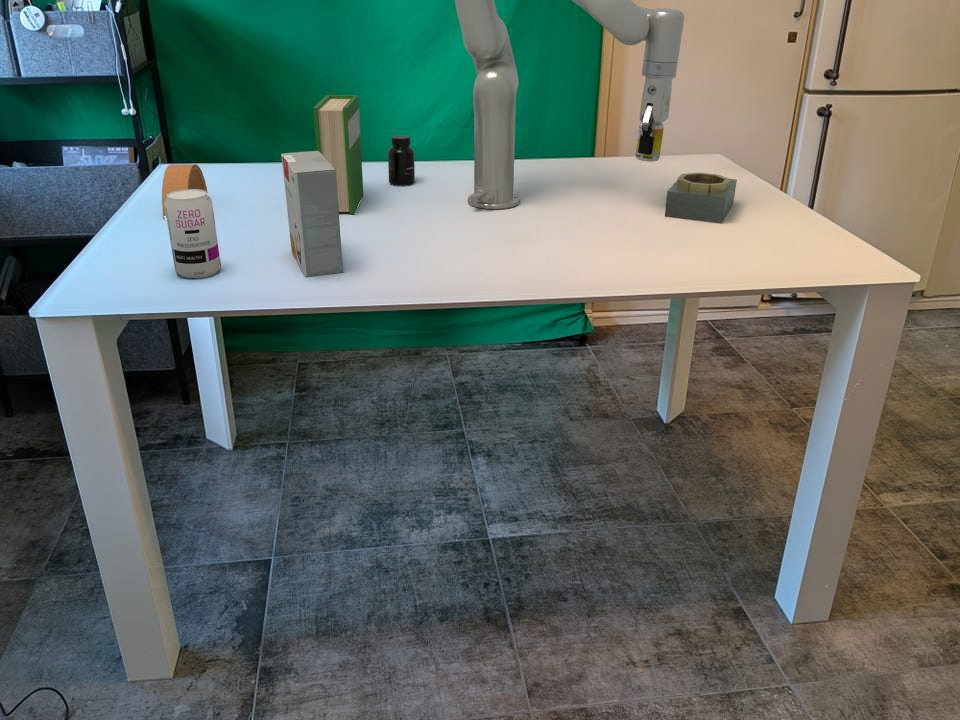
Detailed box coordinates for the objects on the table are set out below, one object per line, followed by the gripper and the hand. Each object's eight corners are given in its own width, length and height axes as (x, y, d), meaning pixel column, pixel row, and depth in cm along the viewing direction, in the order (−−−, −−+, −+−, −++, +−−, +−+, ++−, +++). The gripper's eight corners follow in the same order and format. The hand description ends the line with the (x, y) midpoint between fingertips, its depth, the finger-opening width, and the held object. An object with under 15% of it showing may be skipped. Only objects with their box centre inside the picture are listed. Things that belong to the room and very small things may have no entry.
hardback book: (353, 215, 189) (347, 108, 178) (321, 215, 189) (312, 107, 178) (363, 195, 204) (357, 95, 194) (333, 194, 204) (326, 95, 194)
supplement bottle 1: (413, 186, 212) (412, 139, 207) (387, 186, 212) (385, 139, 207) (416, 180, 218) (414, 134, 213) (390, 179, 218) (388, 134, 213)
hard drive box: (290, 252, 165) (280, 152, 156) (328, 248, 168) (320, 150, 159) (304, 278, 152) (294, 171, 143) (344, 273, 155) (337, 167, 146)
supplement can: (207, 261, 160) (195, 185, 153) (229, 272, 155) (219, 194, 148) (168, 272, 154) (154, 193, 148) (190, 283, 149) (177, 202, 143)
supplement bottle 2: (663, 160, 191) (670, 115, 186) (649, 163, 187) (656, 117, 183) (644, 155, 194) (650, 111, 190) (630, 158, 191) (635, 113, 186)
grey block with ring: (721, 223, 185) (726, 191, 182) (664, 216, 190) (668, 184, 186) (735, 199, 203) (740, 169, 200) (683, 193, 208) (686, 164, 205)
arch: (209, 196, 203) (203, 155, 198) (189, 220, 185) (182, 175, 180) (185, 196, 202) (178, 155, 198) (163, 220, 184) (155, 176, 180)
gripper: (668, 75, 173) (655, 160, 182) (683, 67, 188) (671, 146, 196) (633, 71, 176) (622, 156, 184) (651, 64, 190) (640, 142, 198)
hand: (648, 150), depth 190 cm, fingers closed on supplement bottle 2, 5 cm apart
